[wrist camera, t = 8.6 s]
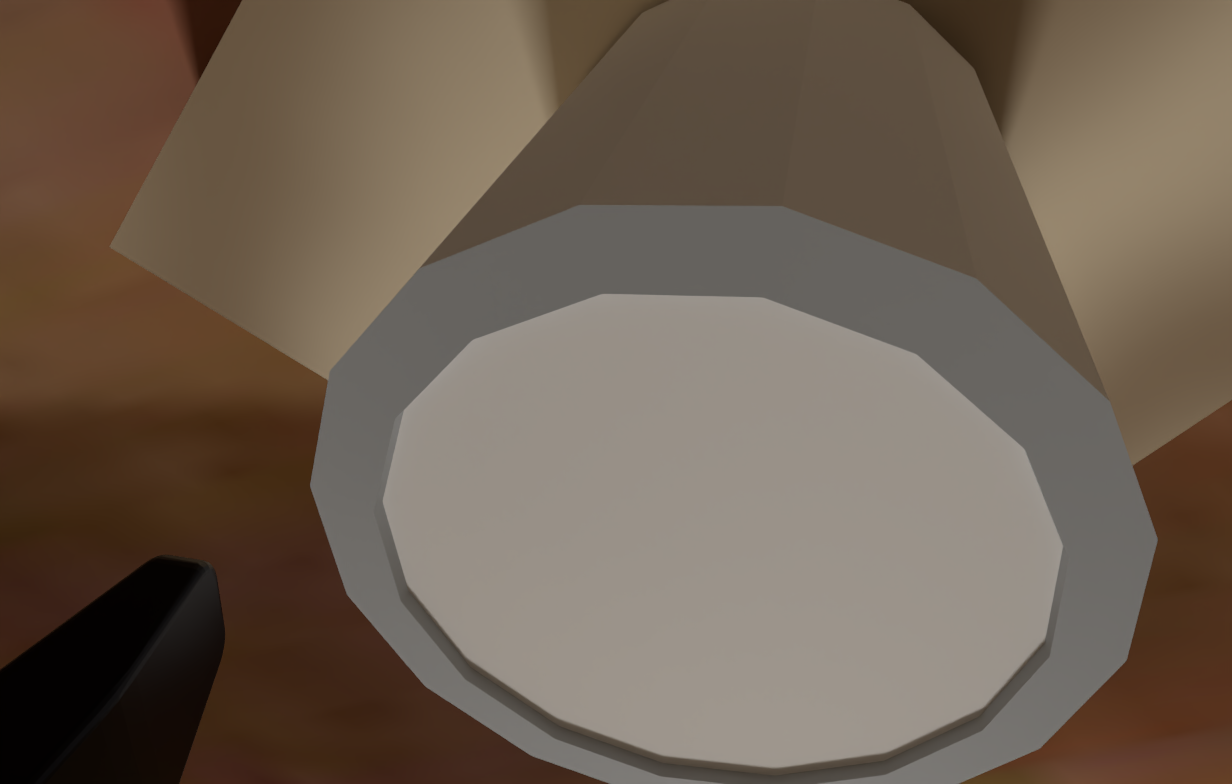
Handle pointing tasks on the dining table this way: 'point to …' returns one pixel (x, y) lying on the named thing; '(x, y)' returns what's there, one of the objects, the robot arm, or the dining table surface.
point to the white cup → (745, 425)
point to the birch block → (562, 58)
